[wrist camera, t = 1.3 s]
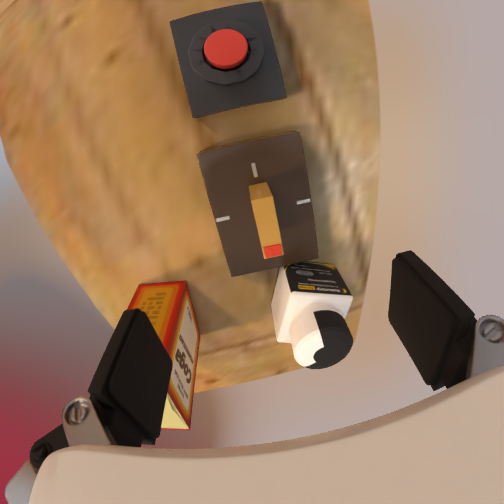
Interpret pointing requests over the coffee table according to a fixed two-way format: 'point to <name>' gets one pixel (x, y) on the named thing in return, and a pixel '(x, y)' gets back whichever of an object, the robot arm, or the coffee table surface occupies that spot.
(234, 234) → the plate
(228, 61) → the door button
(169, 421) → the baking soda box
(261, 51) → the box
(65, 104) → the coffee table surface
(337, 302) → the medicine bottle
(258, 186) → the orange block red tip
